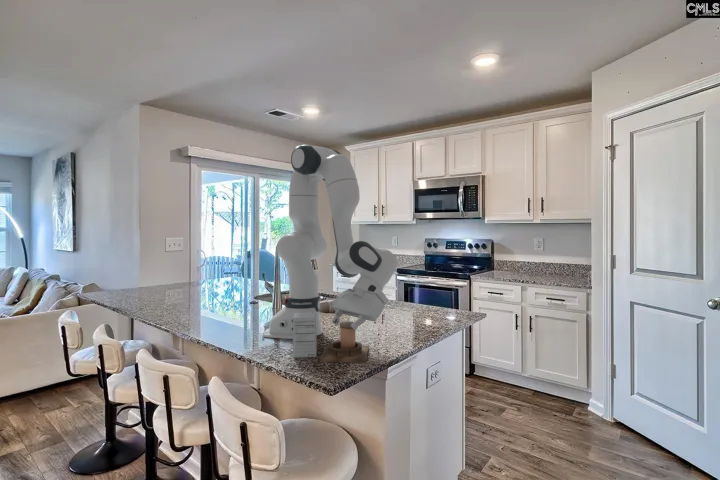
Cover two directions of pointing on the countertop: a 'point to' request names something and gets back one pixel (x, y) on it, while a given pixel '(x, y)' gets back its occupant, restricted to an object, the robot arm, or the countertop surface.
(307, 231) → the robot arm
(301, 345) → the supplement box
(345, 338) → the spice jar
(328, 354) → the jar stand
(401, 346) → the countertop surface
